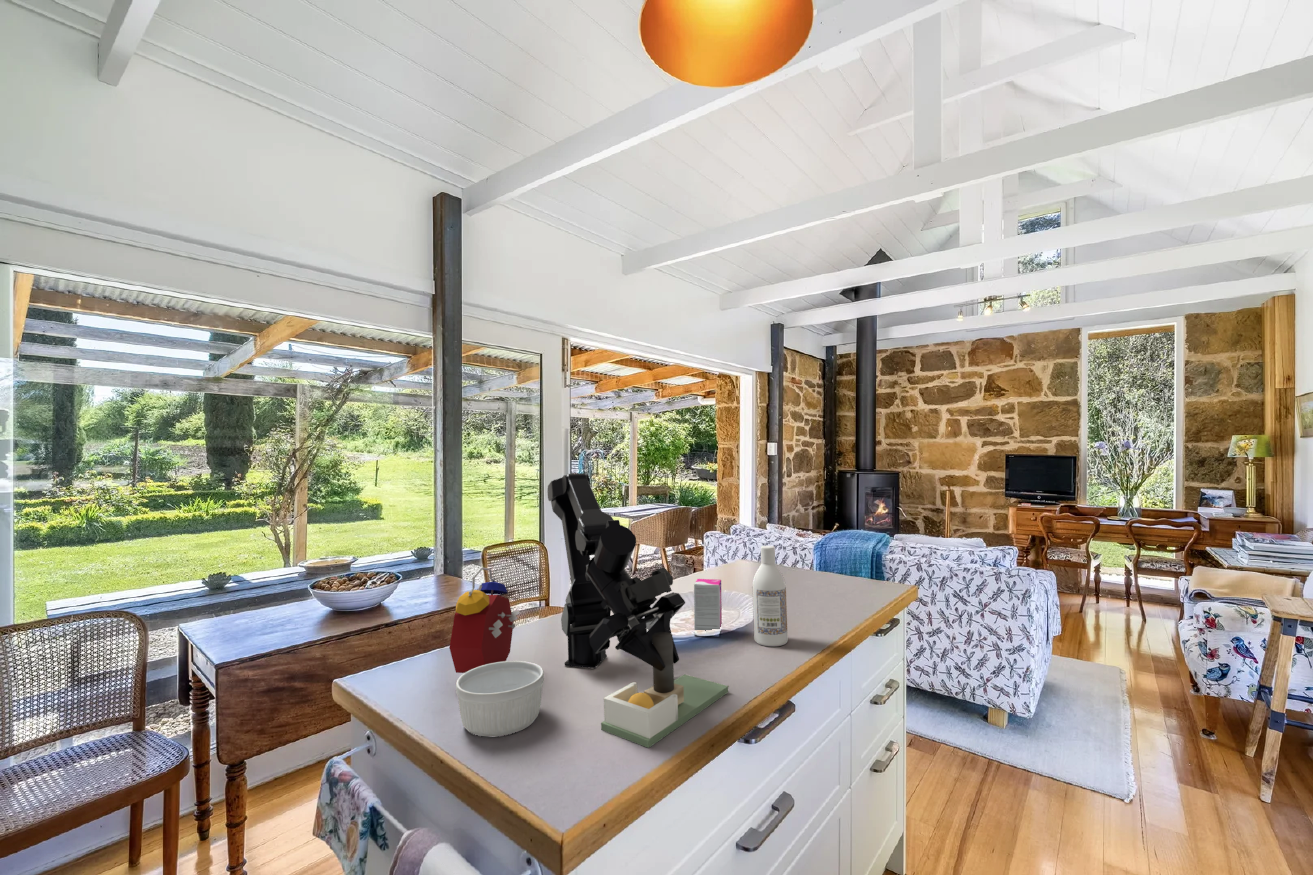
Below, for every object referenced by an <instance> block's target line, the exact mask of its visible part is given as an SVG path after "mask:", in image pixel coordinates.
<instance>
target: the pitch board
mask: <svg viewBox="0 0 1313 875" xmlns="http://www.w3.org/2000/svg"><path fill="white" fill-rule="evenodd" d="M674 683H675V684H678V685H682V686H684V702H682V703H681V704H679V705H678V720H677V721H675V722H673V723H672V724H671V725H669V726H668V727H666V728H665V729H663V730H662V731H660V732H659V733H657V734H656V735H654V736H653V737H651V738H650V739H649V738H646V737H643V736H641V735H638V734H636V733H633V732H630V731H628V730H625V729H622V728H620V727H617V726H614V725H612V724H609V723H606V722H604V720H603V721H601V723H600V728H601V730H602V731H603V732H607V733H608V734H611V735H614V736H616V737H619V738H622V739H625V740H627V741H629V742H632V743H635V744H637V745H639V746H642V747H645V748H648V749H649V748H651V747H652V746H653V745H655V744H657V742H658V743H659V741H660V740H662V739H664V738H665V737H666V736H668V735H669V734H671V733H672V732H673V731H675V730H676V729H678V728H679V727H682V725H684V724H685V723H687V722H688V721H690V719H692V718H694V717H695V716H697V715H699V713H701V712H702V711H704V710H705V709H706V708H708V707H709V706H711V705H712V704H714V703H716V701H718V700H719V699H721V698H722V697H724V696H725V695H726V694H728V693H729V685H726V684H722V683H718V682H716V681H715V682H714V681H712V680H708V679H703V678H700V677H696V676H693V675H689V674H686V673H685V674H682V675H681V676H679V677H677V678H675V679H674ZM670 732H671V733H670ZM663 737H664V738H663Z"/></svg>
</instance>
